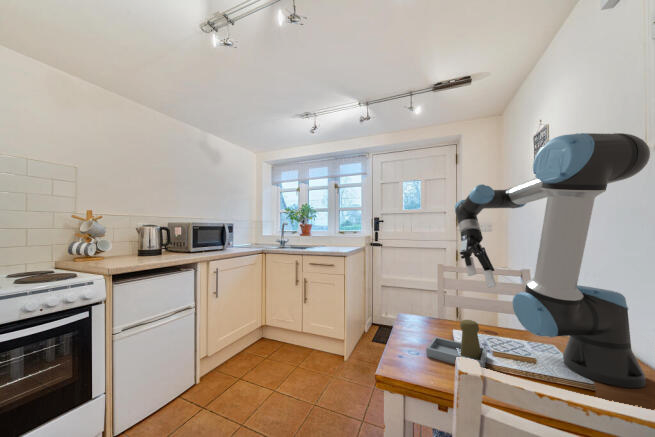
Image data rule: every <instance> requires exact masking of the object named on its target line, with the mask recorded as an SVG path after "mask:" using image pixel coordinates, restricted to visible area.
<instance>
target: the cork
mask: <svg viewBox="0 0 655 437" xmlns="http://www.w3.org/2000/svg"><path fill="white" fill-rule="evenodd" d="M459 327H460V329H461V340H460V341H461V342H460V343H461V353H460V354H461V356H464V357H468V358H472V359H476V360H479V361H480V359H481V356H482V354H481V349H480V347H481V345H480V339H479V336H478V332H479V330H480V326H479V324H478V322H476V321H474V320H472V319H463V320H461V321H460V323H459Z"/></svg>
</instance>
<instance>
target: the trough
mask: <svg viewBox="0 0 655 437" xmlns="http://www.w3.org/2000/svg"><path fill="white" fill-rule="evenodd" d="M456 348H459V349H461V342H459V341H455V340H452V339H451V340H450V339H446V338H443V337H438V336H434V337H433V338H432V340H431V342H429V344H427V347H426V348H425V349H426V357H427V358H431V359H434V360H437V361H442V362H445V363H450V364H453V365H456V364H455V360H456V357H464V356H460V355H459V354H458V351H457V349H456ZM480 349H481V354H482V356H481V359H480V361H479V360H477V361H478V362H479V363H480V365H481V366H482V367H483V368H486V364H485V362H486V363H487V360H486V358H487V359H488V351H487V348H485V347H481V346H480ZM465 358H468V357H465ZM470 359H472V358H470ZM474 360H476V359H474Z"/></svg>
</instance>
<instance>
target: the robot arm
mask: <svg viewBox="0 0 655 437" xmlns="http://www.w3.org/2000/svg"><path fill="white" fill-rule="evenodd" d="M650 157H651V150H650V147H649V145H648V144H647V142H645V140H644V139H642V138H640V137H639V136H636V135H634V134H629V133H623V132H622V133H619V132H618V133H617V132H615V133H591V132H590V133H588V132H587V133H586V132H585V133H583V132H581V133H578V132H577V133H571V134H561V135H558V136H556V137H554V138H552V139H550V140H548V141H547V142H546V143H545V144H544V145H543V146H542V147H540V149H539V150H538V152H537V153H536V155H535V157H534V159H533V162H532V170H533V171H532V172H533V174H534V175H535V178H532V179H530V180H527V181H524V182H522V183H519V184H518V185H514V186H512V187H509V188H506V189H493V187H491V186H490V185H485V184H478V185H476V186H475V187H474V188H473V189H471V191H470V192H469V194H468V195H467V197H466V198H465V199H460V200H459V201H457V202H456V203H455V205H454V212H455V216H456V221H457V225H458V231H459V233H460V247H459V248H460V249H459V254H460V258H461V259H462V260H463V259H464V264H465V268H466V272H467V273H466V274H467V276H468V277H472V276H476V275H477V274H478V273H477V270H476V266H475V262H474V257H475V258H477V260H478V262H479V264H480V265H481V267H482V269H483V275H484V278H485V282H486V286H487V288H489V289H490V288H495V287H497V285H496V281H495V277H494V274H493V272H495V268H494V266H493V264H492V262H491V259H490V257H489V256H488V253H487V250H486V248H485V247H483V246H482V245H481V242H482V241H483V239H484V238H483V234H482V231H481V227H480V223H479V219H478V215H479V214H480V213H481V212H482V211H483V210H484V209H517V208H520V209H521V208H522V207H524V206H526V204H528V203H531V202H534V201H540V200H543V199H547V200H546V204H545V210H544V217H543V223H542V227H541V228H542V229H541V234H540V239H539V248H538V254H537V258H536V265H535V272H534V277H532V278H531V279H528V280H526V282H525V289H524V292H523V291H520V292H518V293H516V294H514V296H513V299H512V309H513V313H514V315H515V316H516V319H517V320H518V322H519V323H520V325H521V326H522V327H523V328H524V329H525V330H526V331H528V332H529V333H531V334H532V335H535V336H537V337H548V338H555V337H556V338H557V337H568V339H567V340H568V341H567V343H566V344H565V345H566V346H565V348H564V351H563V354H562V356H563V364H564V366H566V367H567V368H568V369H570V370H571V371H573V372H575V373H576V374H578V375H580V376H582V377H585V378H587V379H590V380H594V381H596V382H599V383H602V384H606V385H609V386H615V387H618V388H619V387H620V388H629V389H640V388H644V387H645V386H646V385H647V382H646V375H645V372H644V370H643V368H642V367H641V364H640V363H639V361H638V359H637V358H636V356H635V354H634V352H633V350H632V341H631V332H630V321H629V320H630V319H629V312H628V311H629V306H628V303H627V300H626V296H624V295H623V294H622V293H621V292H618V291H614V290H609V289H605V288H598V287H592V286H587V285H586V286H585V285H578V282H579V276H580V273H581V269H582V264H583V263H582V262H583V259H584V253H585V248H586V244H587V243H586V242H587V238H588V232H589V229H590V225H591V224H590V223H591V219H592V214H593V209H594V204H595V199H596V197H597V196H599V195H601V194H603V193H604V192H605V193H606V191H607V187H608V184H611V183H616V182H619V181H624V180H626V179H629V178H631V177H633V176H636V175H637V174H639V173H640V172H642V170H643V169H644V168H645V167H646V166H647V164H648V162H649V160H650ZM472 254H473V255H474V257H473V256H472Z"/></svg>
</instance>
